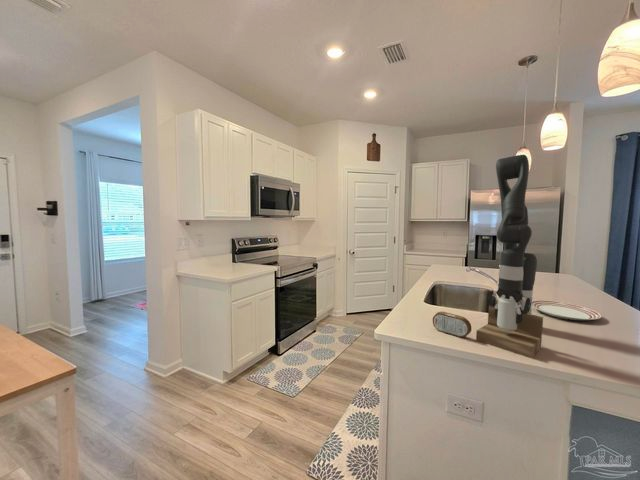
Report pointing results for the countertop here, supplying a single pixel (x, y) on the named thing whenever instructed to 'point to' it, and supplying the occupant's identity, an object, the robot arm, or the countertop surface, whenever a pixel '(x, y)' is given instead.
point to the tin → (451, 324)
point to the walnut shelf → (513, 334)
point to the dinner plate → (565, 310)
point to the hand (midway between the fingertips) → (507, 320)
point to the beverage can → (507, 314)
